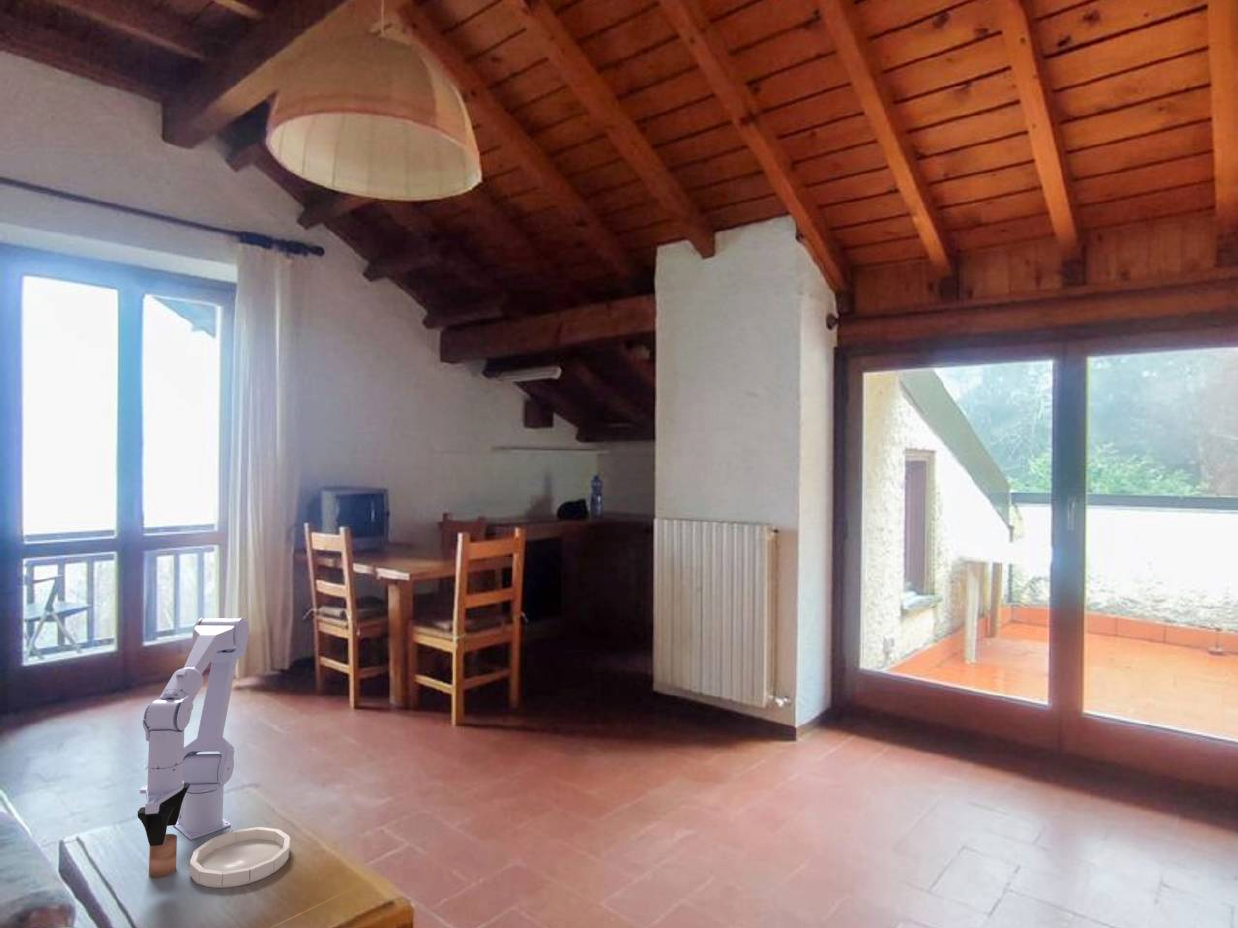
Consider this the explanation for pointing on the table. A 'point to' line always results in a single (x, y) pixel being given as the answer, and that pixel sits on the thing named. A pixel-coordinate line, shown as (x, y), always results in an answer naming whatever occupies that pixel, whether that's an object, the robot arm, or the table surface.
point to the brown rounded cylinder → (163, 857)
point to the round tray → (239, 857)
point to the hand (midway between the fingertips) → (163, 834)
